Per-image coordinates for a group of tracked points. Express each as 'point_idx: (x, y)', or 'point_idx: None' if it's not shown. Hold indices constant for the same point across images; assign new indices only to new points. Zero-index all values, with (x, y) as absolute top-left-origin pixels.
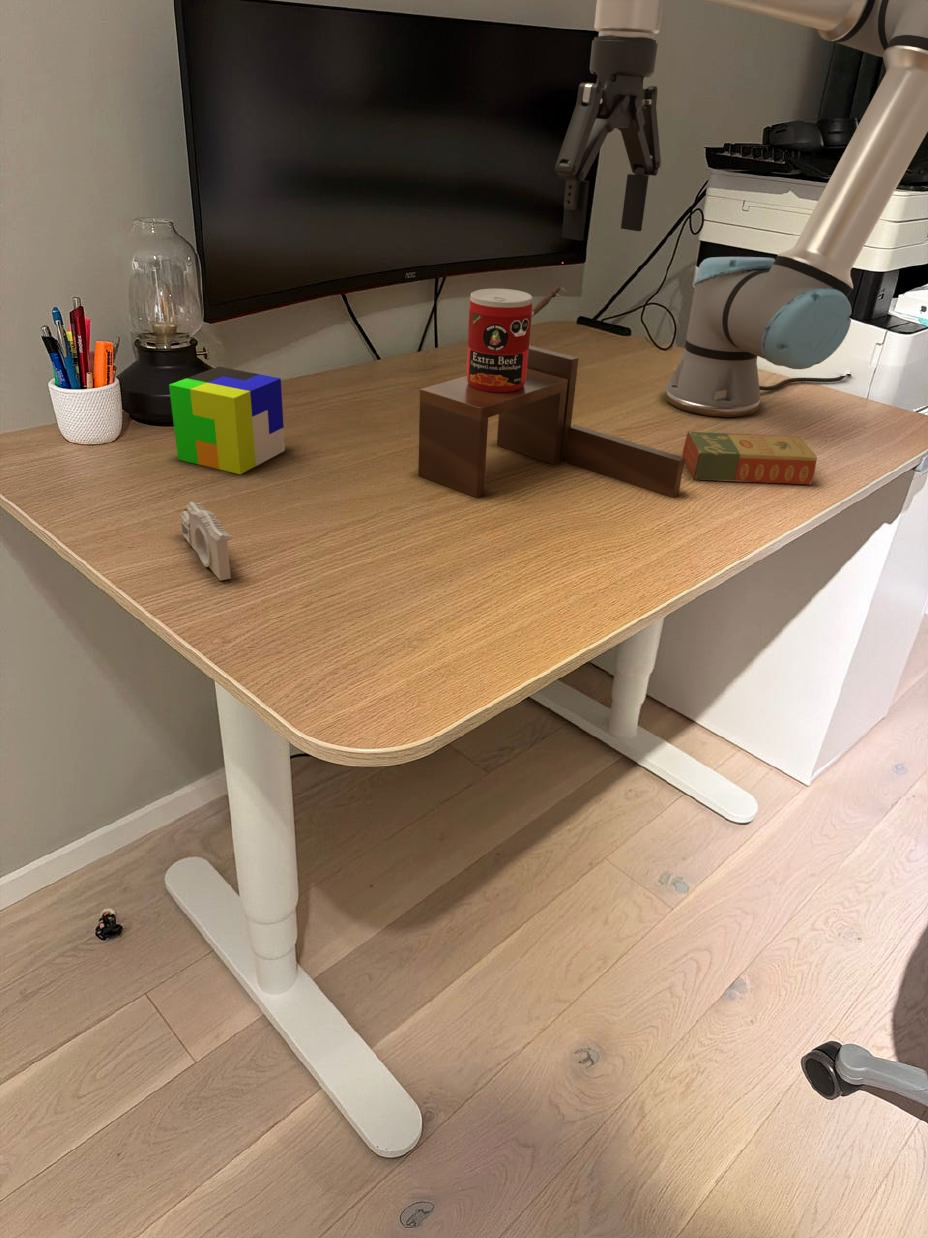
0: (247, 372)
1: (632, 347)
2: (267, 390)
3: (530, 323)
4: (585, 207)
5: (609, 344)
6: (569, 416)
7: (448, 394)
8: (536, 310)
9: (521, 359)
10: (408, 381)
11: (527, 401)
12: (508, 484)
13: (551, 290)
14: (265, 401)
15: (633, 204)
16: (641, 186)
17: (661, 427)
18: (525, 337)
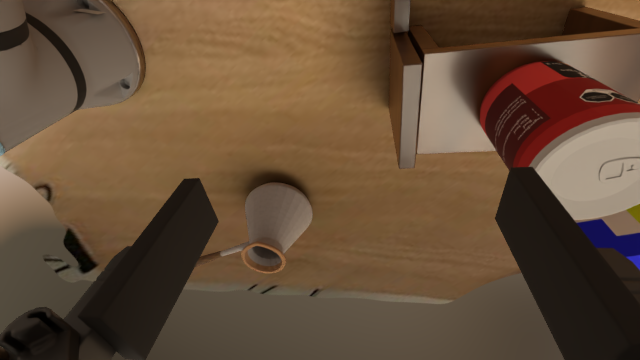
0: None
1: (78, 206)
2: (627, 250)
3: (564, 103)
4: (568, 240)
5: (98, 222)
6: (402, 40)
7: None
8: (216, 254)
9: (565, 73)
10: (337, 252)
11: (533, 39)
12: (518, 13)
13: None
14: (626, 242)
15: (176, 250)
16: (133, 287)
17: (208, 26)
18: (578, 87)
